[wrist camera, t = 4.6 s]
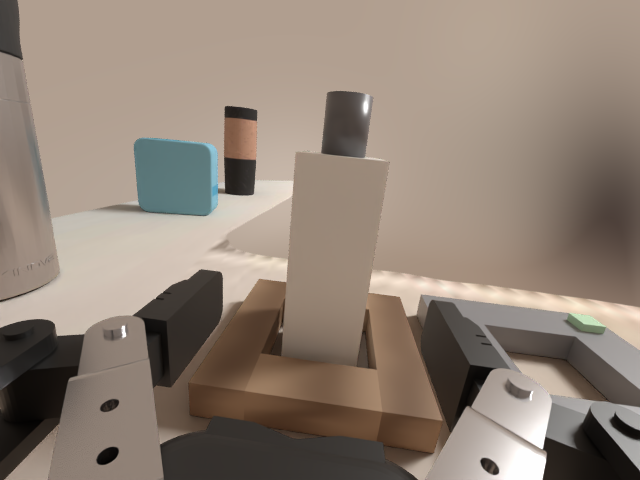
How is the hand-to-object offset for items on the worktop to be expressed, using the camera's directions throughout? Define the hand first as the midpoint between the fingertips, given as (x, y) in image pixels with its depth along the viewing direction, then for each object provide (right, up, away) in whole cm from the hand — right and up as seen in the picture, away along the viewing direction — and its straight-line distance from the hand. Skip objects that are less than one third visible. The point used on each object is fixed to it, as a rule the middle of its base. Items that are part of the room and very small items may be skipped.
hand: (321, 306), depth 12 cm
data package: (-25, +7, +42) cm, 49 cm away
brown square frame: (0, -5, +9) cm, 10 cm away
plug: (0, -5, +9) cm, 10 cm away
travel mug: (-21, +15, +66) cm, 70 cm away
